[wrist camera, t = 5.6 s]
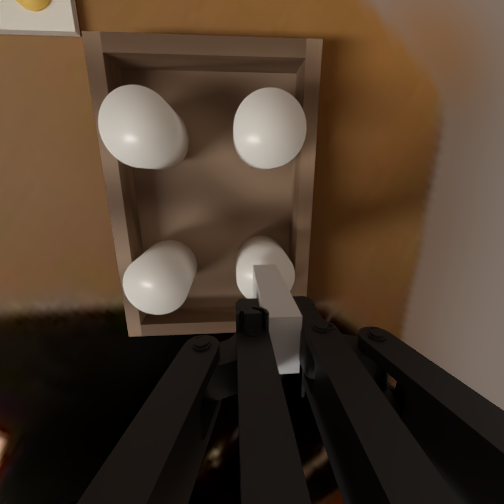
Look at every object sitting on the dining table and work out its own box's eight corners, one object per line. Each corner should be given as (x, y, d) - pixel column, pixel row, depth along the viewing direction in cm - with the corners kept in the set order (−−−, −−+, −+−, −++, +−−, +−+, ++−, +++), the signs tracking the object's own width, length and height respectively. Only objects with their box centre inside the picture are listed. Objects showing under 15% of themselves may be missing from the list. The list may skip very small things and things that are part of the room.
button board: (296, 311, 24) (304, 329, 21) (141, 316, 23) (128, 336, 20) (308, 60, 18) (322, 38, 16) (106, 54, 18) (81, 31, 15)
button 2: (289, 169, 19) (304, 168, 15) (234, 169, 18) (233, 167, 14) (292, 107, 17) (308, 88, 14) (232, 106, 17) (232, 86, 13)
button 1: (283, 280, 22) (293, 302, 18) (236, 282, 22) (236, 304, 18) (284, 235, 21) (296, 248, 17) (235, 235, 21) (235, 249, 17)
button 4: (191, 169, 18) (179, 168, 14) (132, 169, 18) (104, 168, 14) (187, 106, 17) (173, 85, 13) (124, 105, 17) (91, 83, 13)
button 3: (198, 288, 21) (190, 313, 17) (147, 289, 20) (127, 315, 17) (195, 239, 20) (186, 254, 16) (141, 240, 19) (118, 256, 15)
